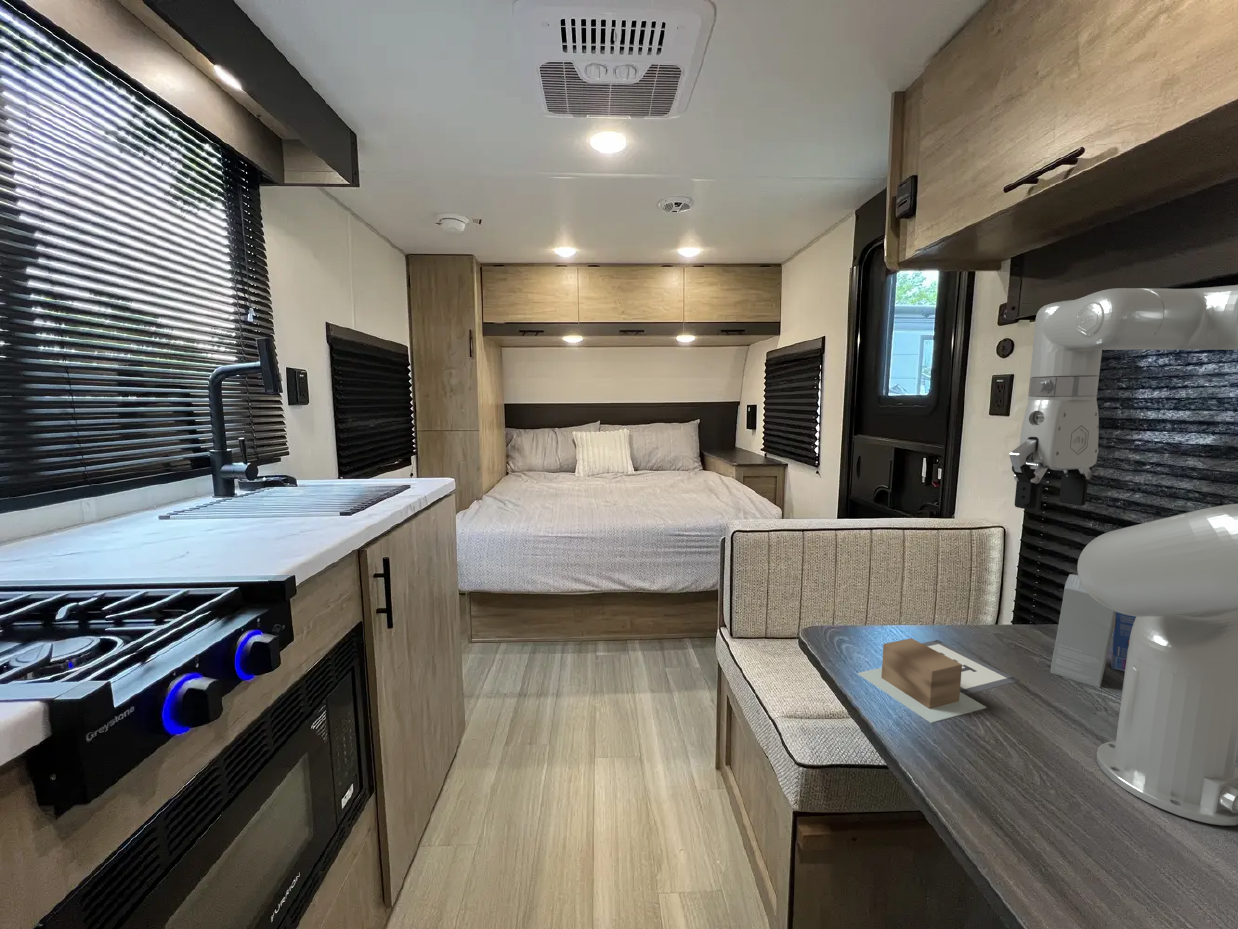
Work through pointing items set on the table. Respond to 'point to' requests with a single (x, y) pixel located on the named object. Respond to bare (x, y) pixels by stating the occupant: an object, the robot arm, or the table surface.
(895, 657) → the walnut block
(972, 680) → the grey framed panel
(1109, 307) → the robot arm
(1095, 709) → the table surface
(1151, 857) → the table surface
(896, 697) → the sage mat
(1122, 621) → the ink cartridge box
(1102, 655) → the skincare box
